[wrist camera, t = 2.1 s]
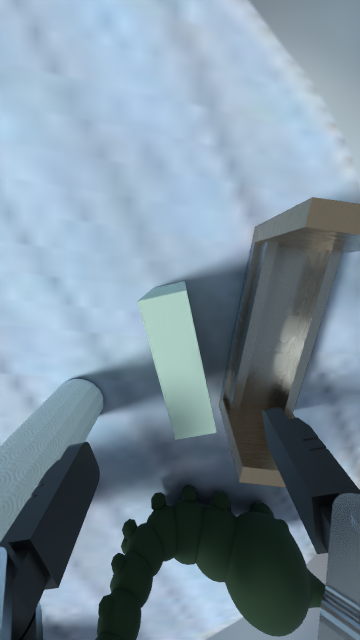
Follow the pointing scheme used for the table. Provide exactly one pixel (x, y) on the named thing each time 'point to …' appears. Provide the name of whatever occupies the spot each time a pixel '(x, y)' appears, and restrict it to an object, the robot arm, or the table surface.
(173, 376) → the pale green rectangular block
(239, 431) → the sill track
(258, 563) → the toy figurine
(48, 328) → the table surface
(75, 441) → the paper towel roll
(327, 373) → the table surface
